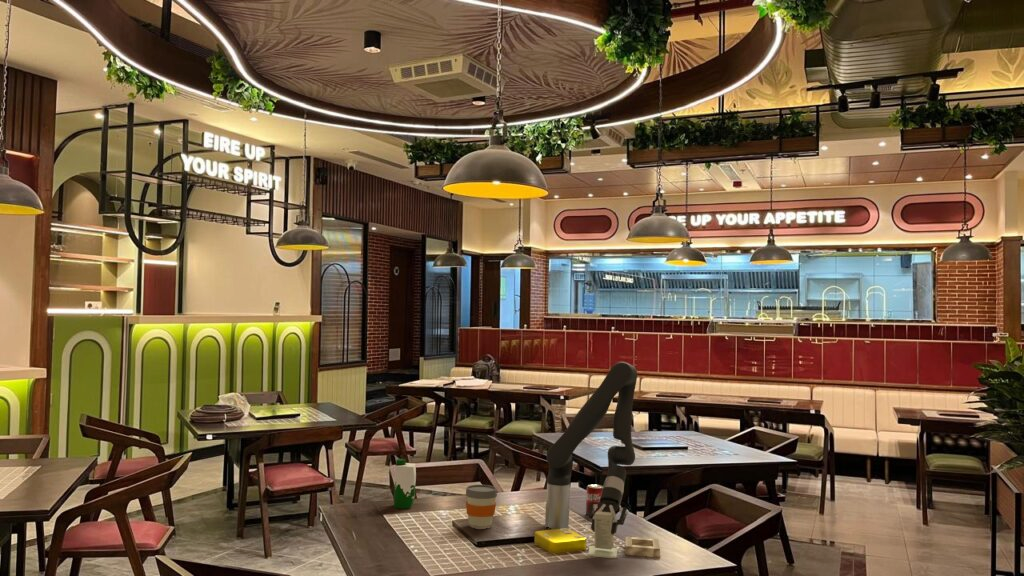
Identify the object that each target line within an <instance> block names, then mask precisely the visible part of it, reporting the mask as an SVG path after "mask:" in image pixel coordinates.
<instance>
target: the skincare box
mask: <svg viewBox="0 0 1024 576" xmlns="http://www.w3.org/2000/svg"><path fill="white" fill-rule="evenodd" d="M594 518H595V532H594V546H595V548H599V549H610V550H611V549H612V548H614V546H615V544H614V541H615V540H614V538H615V537H614V535H612V534H611V529H612V524H613V523H614V520H613V512H600V511H597V512H596V513H595V514H594Z"/></svg>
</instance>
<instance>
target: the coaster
mask: <svg viewBox="0 0 1024 576" xmlns="http://www.w3.org/2000/svg"><path fill="white" fill-rule="evenodd" d="M588 548H589V549H588V555H587V556H588V557H596V558H606V559H607V558H608V559H618V547H613V548H612V549H611V550H610V549H599V548H595V545H589V547H588Z"/></svg>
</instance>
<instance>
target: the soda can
mask: <svg viewBox="0 0 1024 576" xmlns="http://www.w3.org/2000/svg"><path fill="white" fill-rule="evenodd" d="M603 486H604V485H601V484H588V485H587V486H586V498H585V499H586V503H585V506H586V508H585V513H586V514H588V515H589V508H590V503H593V504H598V503H599V502H600V498H601V494H602V490H603ZM598 510H599V509H598V508H596V510H595V511H594V514H595V513H596V512H597V511H598ZM588 515H587V516H588ZM593 516H594V515H593Z"/></svg>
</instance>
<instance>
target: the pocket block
mask: <svg viewBox="0 0 1024 576" xmlns="http://www.w3.org/2000/svg"><path fill="white" fill-rule="evenodd" d="M624 550H625V556H634V555H637V556H636V557H646V556H647V557H648V558H658V557H659V559H660V558H661V547H660V540H659V539H658V538H646V537H636V536H635V537H634V536H625V549H624Z"/></svg>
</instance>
